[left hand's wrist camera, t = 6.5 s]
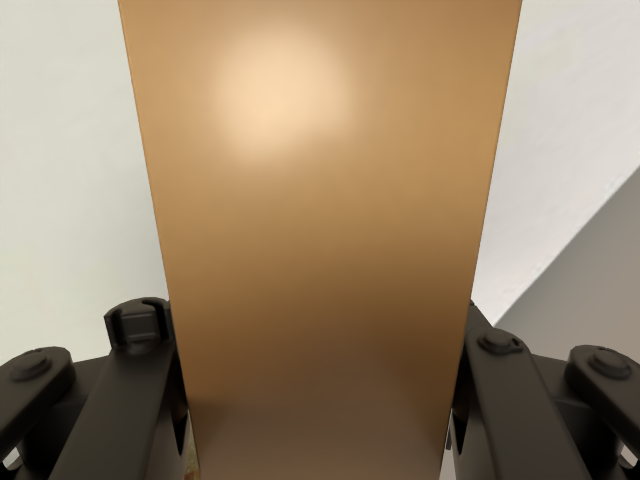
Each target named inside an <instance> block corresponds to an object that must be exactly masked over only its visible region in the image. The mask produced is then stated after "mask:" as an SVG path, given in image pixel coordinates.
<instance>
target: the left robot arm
mask: <svg viewBox="0 0 640 480" xmlns="http://www.w3.org/2000/svg"><path fill="white" fill-rule="evenodd" d="M104 320H105V324H106V328H107V332H108V336H109V340H110V344H111V348H112V349H111V351H110V353H109V355H108V356H104V357H100V358H95V359H90V360H85V361H80V362H75V363H73V361H72V358H71V355H70V352H69V351H68V350H66V349H65V348H62V347H55V346H54V347H45V348H38V349H35V350H30V351H27V352H25V353H23V354H21V355H19V356H17V357H15V358H13V359H11V360H10V361H8V362H6V363H5V364H3V365H2V366H0V480H184V474H185V466H186V458H187V450H188V441H189V433H190V420H189V414H188V403H187V397H186V391H185V386H184V380H183V374H182V368H181V363H180V357H179V351H178V345H177V340H176V334H175V328H174V322H173V317H172V311H171V305H170V300H169V301H168V302H167V301H166V300H164V299H161V298H157V297H144V298H138V299H133V300H130V301H127V302H124V303H121V304H119V305H117V306H116V307H114V308H112V309H111V310H109V311H108V312H107V313H106V314H105V315H104ZM451 444H452V449H453V457H454V465H455V473H456V480H640V364H638V363H636V362H635V361H633V360H632V359H630V358H629V357H627V356H625V355H623V354H620V353H618V352H617V351H615V350H612V349H609V348H605V347H601V346H593V345H581V346H575V347H574V348H573V349H572V350H571V351H570V354H569V357H568V360H567V361H563V360H558V359H553V358H548V357H543V356H538V355H535V354H531V352H530V350H529V348H528V347H527V346H526V345H525V343H524V342H523V341H522V340H521V339H519V338H518V337H516V336H515V335H513V334H511V333H509V332H506V331H504V330H501V329H497V328H493V327H492V326H491V324H490V323H489V322H488V320H487V319H486V318H485V317H484V315H483V314H482V313H481V311H480V310H479V309H478V308H477V306H475V305H474V302H473V301H472V300H471V299H470V304H469V310H468V316H467V322H466V327H465V333H464V339H463V345H462V350H461V356H460V362H459V368H458V374H457V379H456V385H455V391H454V397H453V402H452V414H451V420H450V425H449V431H448V437H447V443H446V449H447V450H450V449H451ZM624 444H625V445H626V446H627V448H628V449H629V450H630V451H631V452H632V453H633V454H634V455H635V456H636V458H637V459H638V461H637V463H636V465H635V466H634V467H633V466H632V465H631V464H630V463H629V462H627V461H626V459H625V458H624V457H623V456H622V455H621V451H622V449H623V447H624ZM15 447H16V448H17V450H18V452H19V455H20V456H19V457H18V458H17V459H16V460H15V461H14V462H13V463H12V464H11V465H10V466H9V467H8V468H6V467H5V466H4V464H3V462H2V461H3V460H4V459H5V458H6V457H7V456H8V454H9V453H10V452H11V451H12V450H13V449H14V448H15Z"/></svg>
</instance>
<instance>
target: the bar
mask: <svg viewBox="0 0 640 480" xmlns="http://www.w3.org/2000/svg"><path fill="white" fill-rule="evenodd" d="M118 5H119V11H120V17H121V23H122V28H123V34H124V40H125V46H126V52H127V57H128V63H129V69H130V75H131V80H132V86H133V92H134V98H135V103H136V109H137V115H138V121H139V126H140V132H141V138H142V144H143V149H144V155H145V161H146V167H147V173H148V178H149V184H150V190H151V196H152V201H153V207H154V213H155V219H156V224H157V230H158V236H159V242H160V247H161V253H162V259H163V265H164V270H165V276H166V282H167V288H168V293H169V299H170V305H171V311H172V317H173V322H174V328H175V334H176V340H177V345H178V351H179V357H180V363H181V368H182V374H183V380H184V386H185V391H186V397H187V403H188V409H189V414H190V420H191V426H192V432H193V438H194V443H195V449H196V455H197V461H198V466H199V472H200V478H201V480H439V477H440V471H441V466H442V460H443V454H444V448H445V443H446V437H447V431H448V425H449V420H450V414H451V408H452V402H453V397H454V391H455V385H456V379H457V374H458V368H459V362H460V356H461V350H462V345H463V339H464V333H465V327H466V322H467V316H468V310H469V304H470V299H471V293H472V287H473V281H474V276H475V270H476V264H477V258H478V253H479V247H480V241H481V235H482V230H483V224H484V218H485V212H486V206H487V201H488V195H489V189H490V183H491V178H492V172H493V166H494V160H495V155H496V149H497V143H498V137H499V132H500V126H501V120H502V114H503V109H504V103H505V97H506V91H507V86H508V80H509V74H510V68H511V63H512V57H513V51H514V45H515V39H516V34H517V28H518V22H519V16H520V11H521V5H522V0H118Z"/></svg>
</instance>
